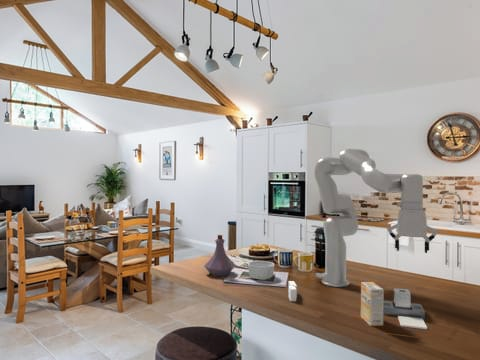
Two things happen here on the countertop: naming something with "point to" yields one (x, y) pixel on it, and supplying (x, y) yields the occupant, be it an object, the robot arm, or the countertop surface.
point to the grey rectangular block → (402, 298)
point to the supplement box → (372, 303)
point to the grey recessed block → (403, 310)
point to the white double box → (292, 291)
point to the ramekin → (261, 269)
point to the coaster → (412, 322)
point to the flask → (219, 260)
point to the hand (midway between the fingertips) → (411, 251)
